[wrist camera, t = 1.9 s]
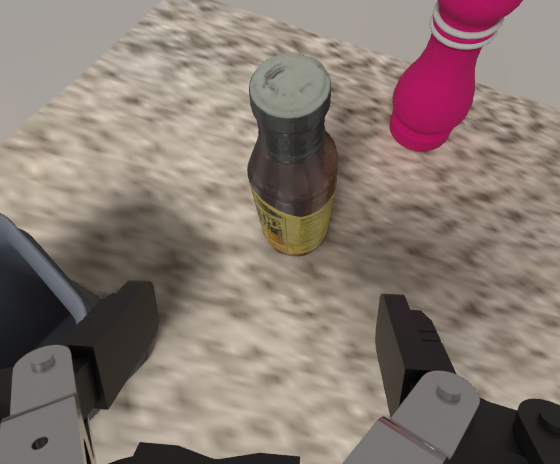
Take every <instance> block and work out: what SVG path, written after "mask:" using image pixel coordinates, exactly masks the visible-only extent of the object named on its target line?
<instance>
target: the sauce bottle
mask: <svg viewBox="0 0 560 464" xmlns="http://www.w3.org/2000/svg"><path fill="white" fill-rule="evenodd" d="M249 94H250V105H251V109H252V112H253V115H254V116H255V118H256V119H257V123H258V128H259V131H258V134H259V136H258V139H257V141H256V144H255V147H254V149H253V152H252V154H251V157H250V160H249V162H248V169H247V171H248V178H249V182H250V186H251V190H252V193H253V197H254V201H255V204H256V208H257V211H258V215H259V218H260V222H261V225H262V229H263V233H264V235H265V237H266V239H267V241H268V242H269V243H270V244H271V245H272V246H273V247H274V248H275V249H276V250H277V251H278V252H279V253H283V254H286V255H290V256H304V255H307V254H308V253H310V252H312V251H313V250H315V249H316V248H317V247H318V246H319V245H320V244H321V243H322V242H323V240H324V239H325V236H326V233H327V230H328V225H329V220H330V215H331V209H332V204H333V199H334V194H335V188H336V183H337V177H336V175H337V169H338V153H337V150H336V146H335V143H334V140H333V139H332V138H331V136H330V135H329V133H327V132H326V131H325V126H324V121H325V115H326V114H327V112H328V110H329V106H330V97H331V81H330V77H329V75H328V73H327V71H326V70H325V68H324V66H323V65H322V64H321V63H319V62H318V61H317V60H315V59H314V58H312V57H307V56H304V55H302V54H297V53H287V54H281V55H276V56H274V57H272V58H270V59H268V60H266V61H265V62H263V63H262V64H261V65H260V66H259V67H258V68H257V70H256V71H255V73H254V74H253V76H252V78H251V81H250V85H249Z"/></svg>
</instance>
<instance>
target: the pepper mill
mask: <svg viewBox="0 0 560 464" xmlns="http://www.w3.org/2000/svg"><path fill="white" fill-rule="evenodd" d="M522 1H523V0H438V1H437V3H436V4H435V7H434V11H433V14H432V16H431V19H430V29H431V32H432V34H431V38H430V40H429V42H428V44H427V47H426V49H425V50H424V51H423V53H422V54H421V56H420V57H419V58H418V59H417V60H416V61H415V62H414V63H413V64H412V65H411V66H410V67H409V68H408V69H407V70H406V71H405V72H404V73H403V75H402V76H401V77H400V79H399V81H398V83H397V85H396V88H395V90H394V93H393V107H394V110H393V113H392V116H391V119H390V131H391V134H392V136H393V137H394V138H395V140H396V141H397V142H398V143H399V144H401V145H402V146H404V147H406V148H408V149H411V150H415V151H429V150H433V149H436V148H438V147H439V146H441V145H442V144H443V143H444V142H445V141H446V140H447V138H448V136H449V135H450V133H451V131H452V129H453V128H454V127H456V126H457V125H459V124H460V123H461V122H462V121H463V120H464V118H465V117H466V116H467V113H468V111H469V109H470V107H471V105H472V102H473V97H474V92H475V65H476V61H477V58H478V55H479V53H480V50H481V48H482V47H483V46H485V45H487V44H488V43H490V42H491V41H492V40H493V39H494V38H495V36H496V34H497V31H498V29H499V28H500V27H501V25H502V23H503V20H504V17H505V16H506V15H508V14H510V13H511V12H512V11H513V10H514V9H515V8H517V7H518V6H519V5H520V3H521V2H522Z"/></svg>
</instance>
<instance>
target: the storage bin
mask: <svg viewBox="0 0 560 464" xmlns="http://www.w3.org/2000/svg"><path fill="white" fill-rule="evenodd" d="M99 301H101V299H100V298H99V297H98V296H97V295H95V294H94V293H92V292H90V291H89V290H87V289H85V288H84V287H82V286H81V285H79V284H77V283H76V282H74V281H72V280H71V279H69V278H68V277H67V275H66V274H65V273H64V272H63V271H62V270H61V269H60V268H59V266H58V265H57V264H56V263H55V262H54V261H53V260H52V258H51V257H50V256H49V255H48V254H47V253H46V252H45V250H44V249H43V248H42V247H41V246H40V245H39V244H38V243H37V242H36V241H35V240H34V238H33V237H32V236H31V235H29V234H28V233H27V232H25V231H23V230H21V229H19V228H17V227H16V226H15V224H14V223H13V222H12V221H11V220H10V219H9V218H7V217H6V216H5V215H3V214H1V213H0V369H4V368H10V367H14V366H15V364H16V363H17V362H18V361H19V360H20V359H21V358H22V357H23V356H25V355H26V354H28V353H30V352H32V351H34V350H36V349H38V348H41V347H45V346H50V345H57V344H58V343H59V342H60V341H61V340H62V339H63V338H64V337H65V336H66V335H67V334H68V333H69V332H70V331H71V330H72V329H73V328H74V327H75V326H76V325H77V324H78V323H79V322H80V321H81V320H83V318H84V317H85V316H86V315H87V314H88V313H89V312H91V310H92V308H93V307H94V306H95V305H96V304H97V303H98V302H99ZM146 357H147V350H146V351H145V352H144V354H143V355H142V357H141V359H140V360H139V362H138V363H137V365H136V367H135V368H134V370H133V371H132V373H131V374H130V376H131V375H132V374H133V373H134V372H135V371H136V370H137V369H138V368H139V367H140V366H141V365H142V364H143V363H144V361H145V360H146ZM130 376H129V377H130ZM127 380H128V379H127ZM98 410H99V409H95V408H93V409H92V410H91V412H90V413H89V415H88V418H89V420H90V419H91V418H92V417H93V416H94V415H95V414H96V413H97V412H98Z"/></svg>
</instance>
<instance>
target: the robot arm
mask: <svg viewBox="0 0 560 464" xmlns="http://www.w3.org/2000/svg"><path fill="white" fill-rule="evenodd" d="M157 329H158V312H157V305H156V299H155V292H154V286H153V284H152V282H150V281H131V280H130V281H128V282H127V283H126V284H125V285H124V286H123V287H122V288H121V289H120V290H119V291H118V292H117V293H116V294H115V293H113V294H111V295H109V296H108V297H106V298H104V299H103V300H101V301H99V302H98V303H97V304H96V305H95V306H94V307H93V308H92V310H91V312H89V313H88V314H87V315H86V316H85V317H84V318H83V320H81V321H80V322H79V323H78V324H77V325H76V326H75V327H74V328H73V329H72V330H71V331H70V332H69V333H68V334H67V335H66V336H65V337H64V338H63V339H62V340H61V341H60V342H59V343H58V344H57V345H50V346H45V347H41V348H38V349H36V350H34V351H32V352H30V353H28V354H26V355H25V356H23V357H22V358H21V359H20V360H19V361H18V362H17V363H16V364H15V366H14V367H10V368H4V369H0V464H97V463H96V457H95V451H94V445H93V439H92V434H91V428H90V422H89V418H88V415H89V413H90V412H91V410H92V409H93V408H95V409H107V410H108V409H109V408H110V406H111V405H112V403H113V401H114V400H115V398H116V397H117V395H118V393H119V392H120V390H121V389H122V387H123V386H124V384H125V382H126V381H127V379H128V378H129V376H130V374H131V373H132V371H133V370H134V368H135V367H136V365H137V363H138V362H139V360H140V359H141V357H142V355H143V354H144V352H145V351H146V349H147V348H148V346H149V344H150V343H151V341H152V340H153V338H154V337H155V335H156V332H157ZM375 342H376V351H377V356H378V361H379V365H380V370H381V375H382V380H383V384H384V389H385V394H386V398H387V403H388V408H389V413H390V417H391V418H390V419H387V418H386V417H384V416H383V417H380V418H379V419H378V420H377V421H376V422H375V424H374V425H373V426H372V427H371V429H370V430H369V431H368V432H367V434H366V435H365V436H364V437H363V439H362V440H361V441H360V442H359V444H358V445H357V446H356V447H355V449H354V450H353V451H352V452H351V454H350V455H349V456H348V457H347V459H346V460H345V461H344V462H343V464H560V405H558V404H555V403H553V402H550V401H546V400H542V399H528V400H525V401H523V402H521V404H520V405H519V407H518V410H514V409H510V408H507V407H504V406H501V405H497V404H494V403H491V402H488V401H486V400H484V399H482V398H480V397H479V395H478V392H477V391H476V389H475V388H474V387H473V386H472V384H470V383H469V382H468V381H467V380H465V379H464V378H462V377H460V376H458V375H457V374H456V372H455V370H454V368H453V365H452V363H451V361H450V359H449V357H448V355H447V353H446V350H445V348H444V346H443V344H442V343H441V340H440V338H439V335H438V334H437V331H436V329H435V327H434V325H433V323H432V320H430V319H429V318H428V317H427V316H426V315H425V314H424V313H423V312H422V311H419V310H410V308H409V305H408V303H407V300H406V298H405V296H404V295H398V294H381V296H380V301H379V309H378V317H377V325H376V336H375ZM109 464H300V457H299V456H288V455H277V454H266V453H256V454H249V455H243V456H236V457H230V458H224V459H212V458H210V457H207V456H204V455H202V454H199V453H196V452H194V451H191V450H188V449H186V448H183V447H180V446H177V445H166V444H155V443H144V442H140V443H139V445H138V447H137V449H136V451H135V453H134V455H133V456H132V457H127V458H124V459H120V460H117V461H114V462H112V463H109Z"/></svg>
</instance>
